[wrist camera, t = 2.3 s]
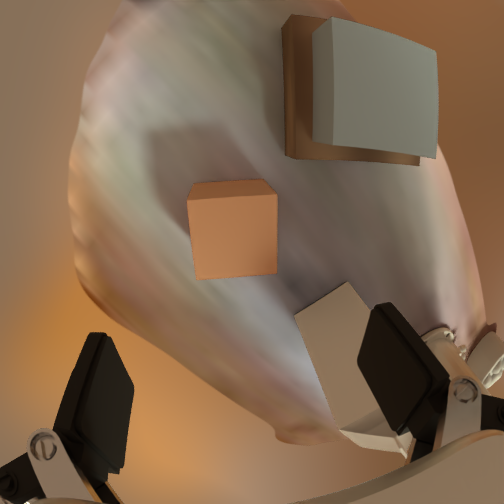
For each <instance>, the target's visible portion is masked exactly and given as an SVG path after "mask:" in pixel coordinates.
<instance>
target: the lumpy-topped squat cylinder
mask: <svg viewBox="0 0 504 504" xmlns="http://www.w3.org/2000/svg"><path fill="white" fill-rule="evenodd" d="M467 365H468V366H469V367H470V368H471V370H472V371H473V372H474V374H475V375H476V376H477V377H478V379H479V380H480V381H481V383H482V384H483V385H484V386H485V388H489V387H490V386H491V385H492V384H494V383H495V382H496V381H497V380H498V379H499V378H500V377H501V375H502V371H503V370H504V342H503V341H502V340H501V339H500V337H499V336H498V335H497V334H496V333H495V332H494V331H491V332H489V333H487V334H486V335H485V336H484V337H483V338H482V339H481V341H480V342H479V343H478V344H477V346H476V347H475V349H474V350H473V352H472V353H471V355H470V356H469V358H468V360H467Z"/></svg>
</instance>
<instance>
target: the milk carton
mask: <svg viewBox="0 0 504 504" xmlns="http://www.w3.org/2000/svg"><path fill="white" fill-rule="evenodd" d="M370 312H371V311H370V310H369V308H368V307H367V306H366V304H365V303H364V302H363V300H362V299H361V298H360V296H359V295H358V294H357V293H356V291H355V290H354V289H353V287H352V286H351V285H350V283H349V282H346V283H344V284H343V285H341V286H340V287H338V288H337V289H335V290H334V291H332V292H331V293H329V294H327V295H326V296H324V297H323V298H321V299H320V300H318V301H316V302H315V303H313V304H312V305H310V306H308V307H307V308H305V309H304V310H302V311H300V312H299V313H297V314H295V315H294V318H295V320H296V323H297V325H298V328H299V330H300V333H301V335H302V338H303V340H304V343H305V345H306V348H307V350H308V353H309V355H310V358H311V360H312V363H313V366H314V368H315V371H316V373H317V376H318V378H319V381H320V384H321V386H322V389H323V391H324V394H325V396H326V399H327V402H328V404H329V407H330V410H331V412H332V415H333V417H334V420H335V423H336V425H337V428H338V430H339V431H340V432H341V433H343V434H344V435H345V436H347V437H348V438H349V439H351V440H352V441H354V442H355V443H356V444H358V445H359V446H360V447H364V448H371V449H377V450H385V451H392V452H401V453H402V454H403V455H404V457H405V458H407V455H408V454H407V452H406V451H407V449H408V447H409V445H410V443H411V441H412V437H413V436H412V434H411V432H408V433H405V434H403V435H401V436H398V435H397V433H396V431H392V430H391V428H390V426H389V424H388V422H387V420H386V418H385V416H384V414H383V413H382V411H381V409H380V407H379V405H378V403H377V401H376V399H375V397H374V395H373V394H372V392H371V390H370V388H369V386H368V384H367V382H366V380H365V379H364V377H363V375H362V373H361V371H360V369H359V367H358V365H357V357H358V354H359V350H360V347H361V344H362V341H363V337H364V334H365V330H366V327H367V323H368V320H369V316H370Z"/></svg>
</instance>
